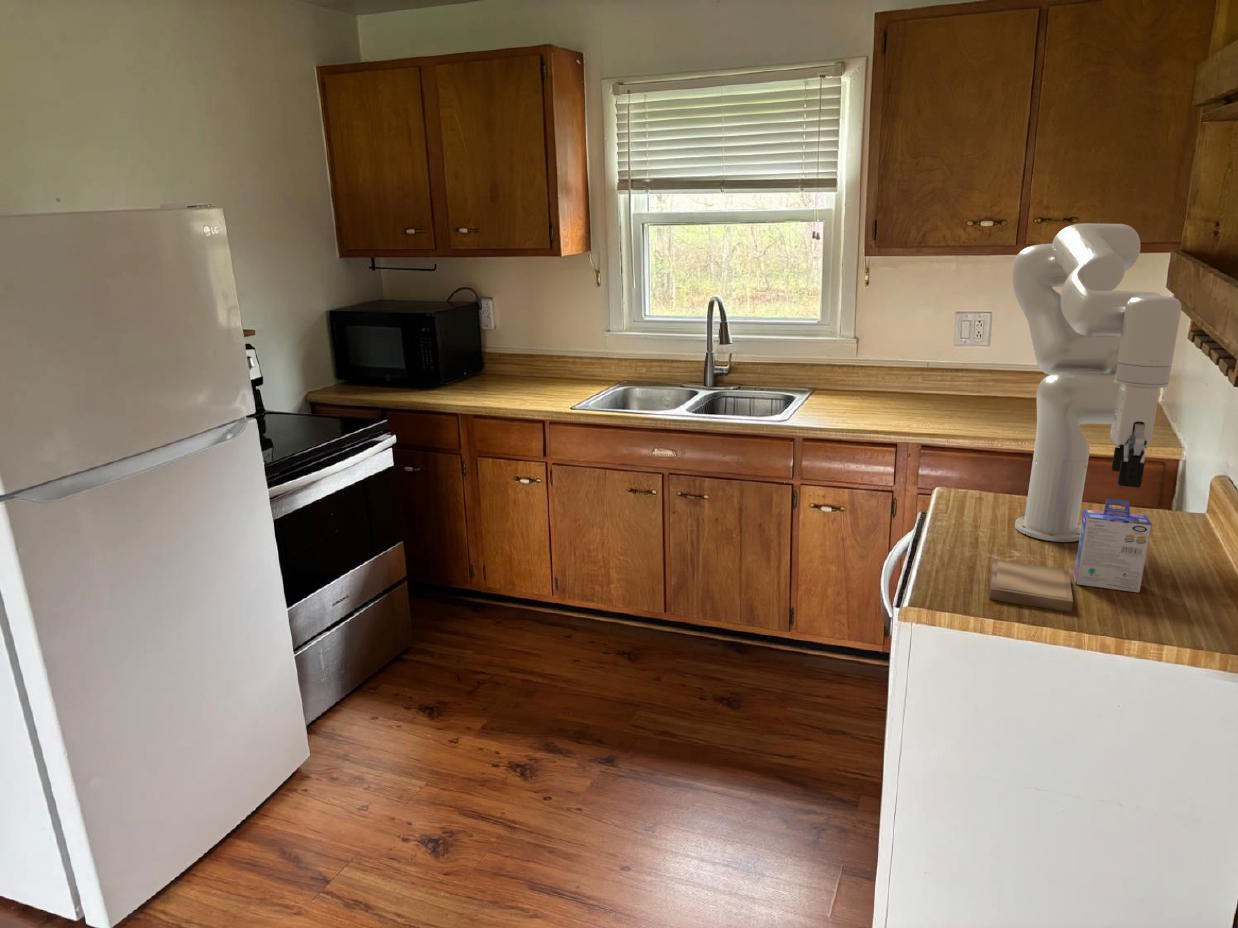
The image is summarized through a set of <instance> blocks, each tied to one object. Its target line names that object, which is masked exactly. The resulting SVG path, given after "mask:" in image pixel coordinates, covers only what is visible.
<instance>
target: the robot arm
mask: <svg viewBox="0 0 1238 928" xmlns="http://www.w3.org/2000/svg"><path fill="white" fill-rule="evenodd" d="M1140 252H1141V240H1140V236H1139V234H1138V232H1137V231H1136V230H1135V229H1134V228H1133V227H1132V226H1130V225H1128V224H1124V223H1089V222H1088V223H1087V222H1086V223H1075V224H1071V225H1069V226H1066V227H1064V228H1063V229H1060V231H1058V233H1057V234H1056V235H1055V236H1054V238H1053V240H1052V243H1041V244H1035V245H1030V246H1027V247H1024V248H1023V249H1022V250H1021V251H1020V252H1019V253H1017V255H1016V257H1015V259H1014V261H1013V266H1012V286H1013V292H1014V294H1015V298H1016V301H1017V302H1018V305H1019V306H1020V308H1021V310H1022V312H1023V314H1024V316H1025V317H1026V320H1027V323H1028V327H1029V333H1030V338H1031V341H1032V342H1031V343H1032V347H1033V351H1034V352H1033V353H1034V356H1035V360H1036V363H1037V366H1038V368H1039V370H1040V371H1041V372H1042V373H1044V374H1046V375H1047V376H1046V377H1044V378H1042V380H1041V381H1040V383H1039V384H1038V386H1037V389H1036V403H1035V404H1036V431H1035V432H1036V434H1035V442H1034V447H1033V448H1034V449H1033V455H1032V456H1033V458H1032V463H1031V471H1030V477H1029V485H1028V492H1027V500H1026V506H1025V512H1024V513H1025V514H1024V516H1021V517H1018V518H1016V520H1015V523H1014V526H1015V529H1016V530H1017V531H1018V532H1020V533H1022V534H1023V535H1025V534H1026V535H1025V536H1029V537H1031V538H1035V539H1038V540H1043V541H1049V542H1056V543H1059V542H1060V543H1074V542H1079V539H1080V531H1081V524H1079V522H1080V521H1079V519H1080V514H1081V509H1082V507H1081V505H1082V501H1083V496H1084V495H1083V493H1084V489H1085V484H1086V483H1085V482H1086V476H1087V471H1088V470H1087V469H1088V464H1089V457H1090V444H1089V441H1088V439H1087V437H1086V436H1085V435H1084V433H1083V432H1082V429H1081V428H1080V425H1088V424H1089V425H1090V424H1093V425H1094V424H1095V425H1096V424H1097V425H1111V427H1110V432H1109V435H1110V436H1109V437H1110V439H1111V441H1112V443H1113V445H1115V447H1114V450H1113V458H1112V464H1111V470H1112V471H1113V472H1118V477H1117V485H1118V486H1120V487H1127V488H1135V489H1136V488H1138V489H1139V488H1141V486H1142V480H1143V476H1144V469H1145V455H1146V449H1148V448H1149V447H1150V445H1151V442H1152V438H1153V434H1154V427H1155V421H1156V416H1157V409H1158V403H1159V395H1160V394H1159V393H1160V389H1162V388H1168V387H1169V385H1170V384H1169V383H1170V377H1171V372H1172V366H1173V360H1174V354H1175V350H1176V349H1175V348H1176V344H1177V343H1176V341H1177V335H1178V331H1179V325H1180V320H1181V313H1182V303H1181V302H1180V300H1179V299H1178V298H1176V297H1172V296H1166V295H1165V296H1164V295H1162V294H1160V293H1156V292H1153V291H1134V290H1133V291H1131V290H1130V291H1129V290H1115V289H1116V288H1118V286H1119V285H1120V284H1121V282H1122V281H1123V279H1124V276H1125V273H1126V272H1127V271H1128V270H1130V269H1131V268H1132V267H1133V266H1134V265H1135V263H1136V262H1137V261H1138V258H1139V256H1140ZM1054 288H1061V293H1059V292H1058V291H1056V289H1054Z"/></svg>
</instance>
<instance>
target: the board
mask: <svg viewBox="0 0 1238 928" xmlns="http://www.w3.org/2000/svg"><path fill="white" fill-rule="evenodd" d="M990 573H991V574H990V590H989V600H994V601H1001V602H1006V603H1012V604H1018V605H1025V606H1031V607H1035V608H1037V607H1038V608H1043V609H1049V610H1055V611H1062V612H1067V613H1068V612H1069V613H1072V611H1073V606H1074V605H1073V604H1074V599H1073V591H1072V586H1071V585H1072V584H1071V578H1070V570H1069V569H1064V568H1057V567H1051V566H1043V565H1037V564H1031V563H1023V562H1015V561H1010V560H1009V561H1008V560H1003V559H995V558H993V559H992V565H991V572H990Z"/></svg>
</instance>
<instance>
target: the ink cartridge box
mask: <svg viewBox="0 0 1238 928" xmlns="http://www.w3.org/2000/svg"><path fill="white" fill-rule="evenodd" d="M1111 505H1121V506H1123V507H1125V509H1123V508H1122V509H1120V508H1111V507H1110V506H1111ZM1081 516H1082V519H1081V524H1080V525H1081V531H1080V539H1079V541H1078V548H1077V553H1076V559H1075V566H1074V567H1075V568H1074V572H1073V579H1074V584H1075V585H1077V586H1088V587H1094V588H1102V589H1110V590H1117V591H1123V592H1130V593H1131V592H1132V593H1133V592H1134V593H1140V591H1141V587H1142V586H1141V585H1142V582H1143V581H1142V580H1143V575H1144V569H1145V564H1146V557H1147V552H1148V547H1149V542H1150V536H1151V530H1152V526H1153V525H1152V522H1151V520H1150V519H1149V517H1148V516H1147V515H1145V514H1136V513H1130V501H1129V500H1119V499H1111V498H1105V503H1104V511H1102V510H1091V509H1083V510H1082V515H1081Z"/></svg>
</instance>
